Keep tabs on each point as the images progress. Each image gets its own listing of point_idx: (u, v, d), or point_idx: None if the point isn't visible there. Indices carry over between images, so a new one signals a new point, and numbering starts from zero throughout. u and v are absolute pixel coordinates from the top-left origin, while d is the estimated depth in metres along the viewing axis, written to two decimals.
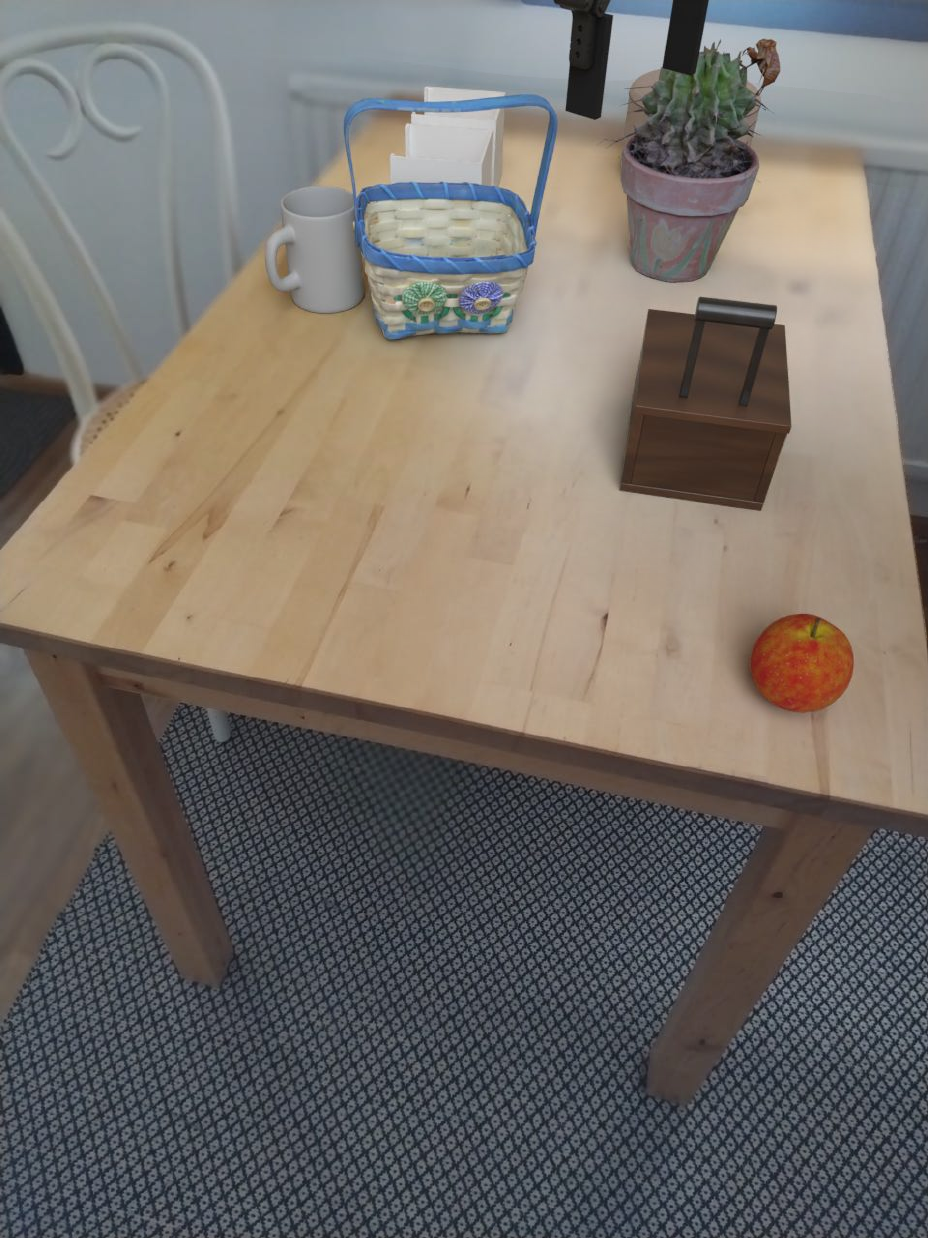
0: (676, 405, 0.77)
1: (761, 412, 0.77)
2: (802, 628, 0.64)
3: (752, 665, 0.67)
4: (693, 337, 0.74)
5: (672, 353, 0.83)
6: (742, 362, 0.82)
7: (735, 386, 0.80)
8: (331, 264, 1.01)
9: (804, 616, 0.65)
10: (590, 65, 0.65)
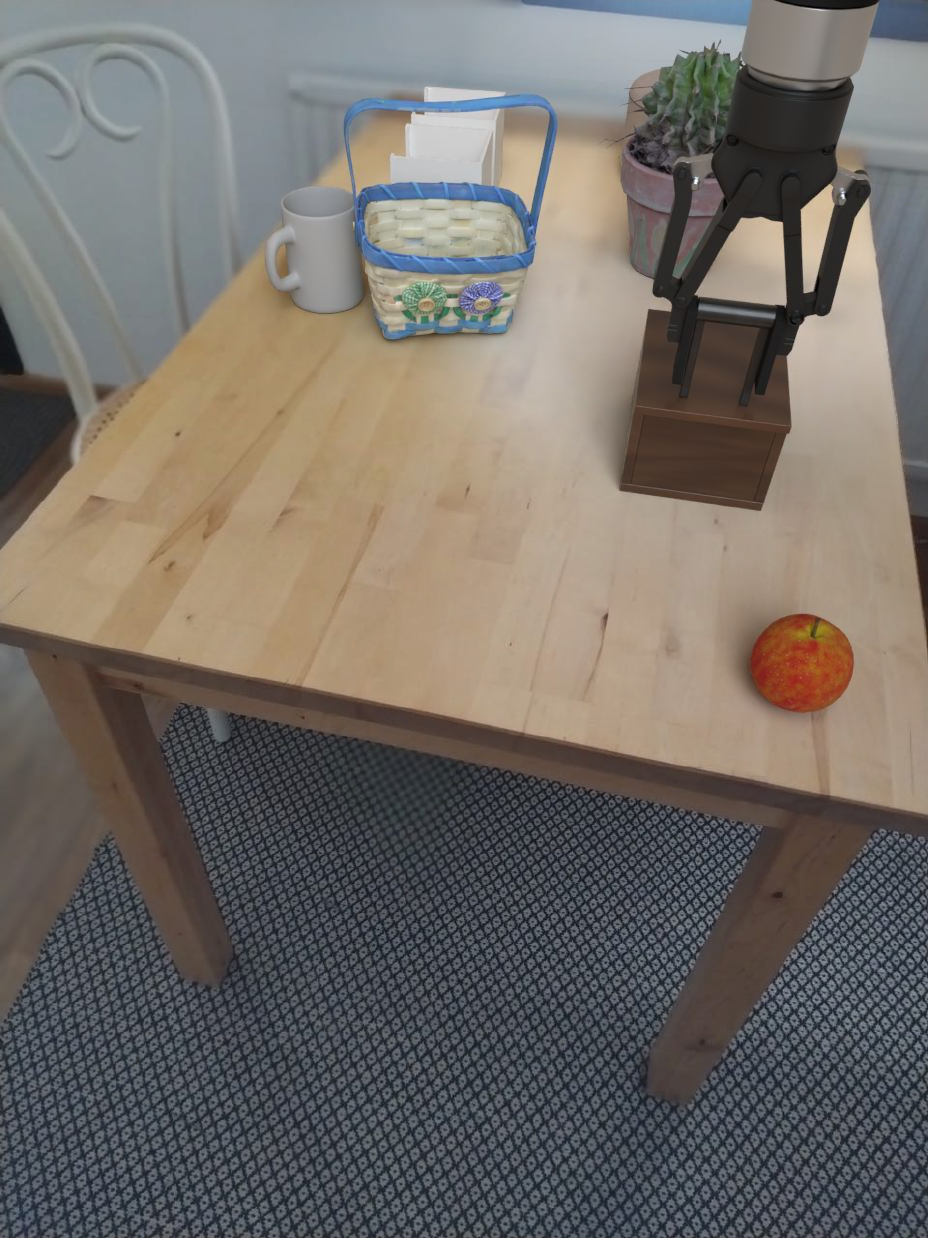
0: (676, 405, 0.77)
1: (761, 412, 0.77)
2: (802, 628, 0.64)
3: (752, 665, 0.67)
4: (693, 337, 0.74)
5: (672, 353, 0.83)
6: (742, 362, 0.82)
7: (735, 386, 0.80)
8: (331, 264, 1.01)
9: (804, 616, 0.65)
10: (674, 340, 0.74)
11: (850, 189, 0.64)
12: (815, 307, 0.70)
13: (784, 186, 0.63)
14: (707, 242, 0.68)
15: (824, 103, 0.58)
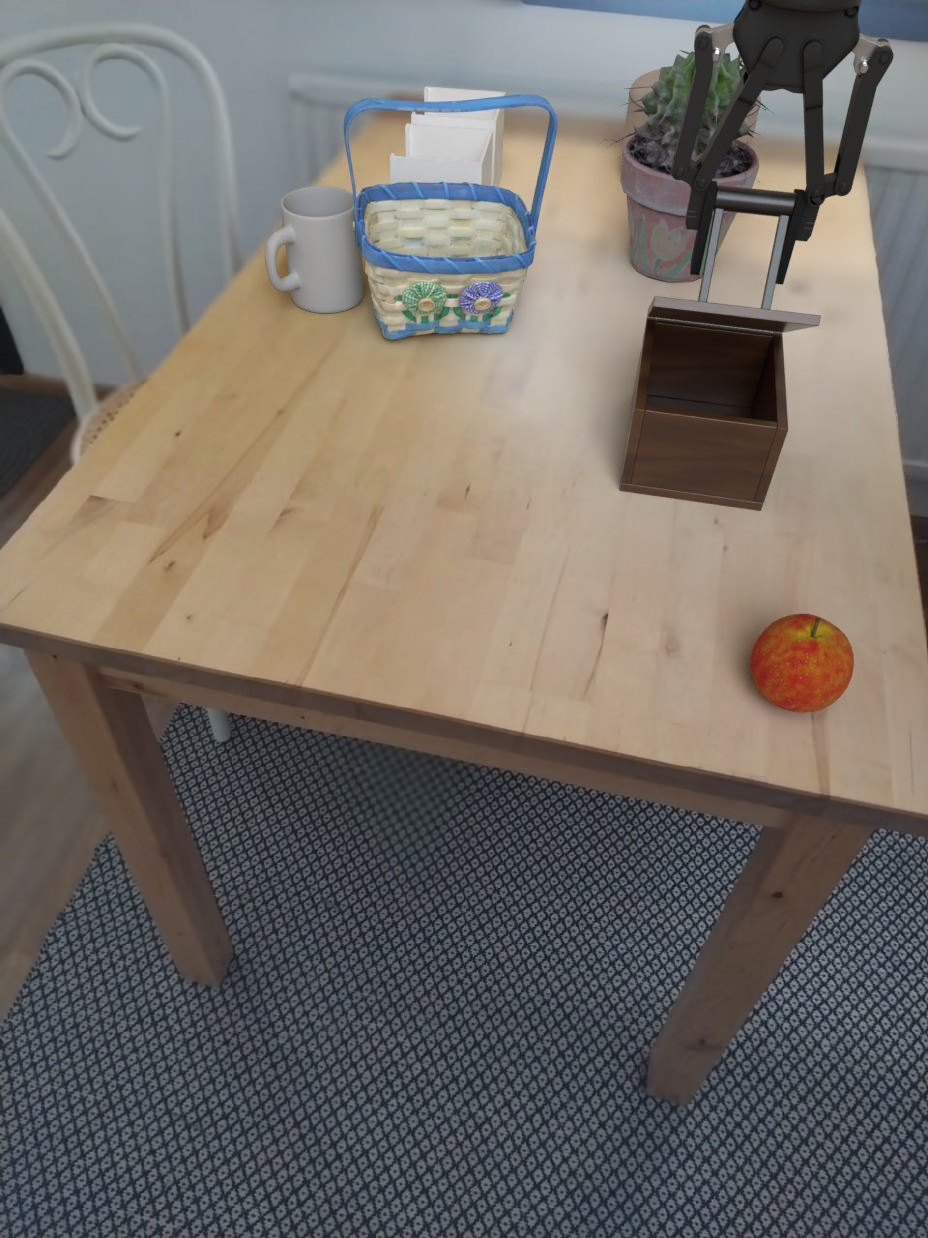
0: None
1: None
2: (802, 628, 0.64)
3: (752, 665, 0.67)
4: (712, 228, 0.73)
5: None
6: None
7: None
8: (331, 264, 1.01)
9: (804, 616, 0.65)
10: (693, 228, 0.74)
11: (872, 57, 0.63)
12: (835, 186, 0.69)
13: (806, 52, 0.63)
14: (727, 118, 0.67)
15: None
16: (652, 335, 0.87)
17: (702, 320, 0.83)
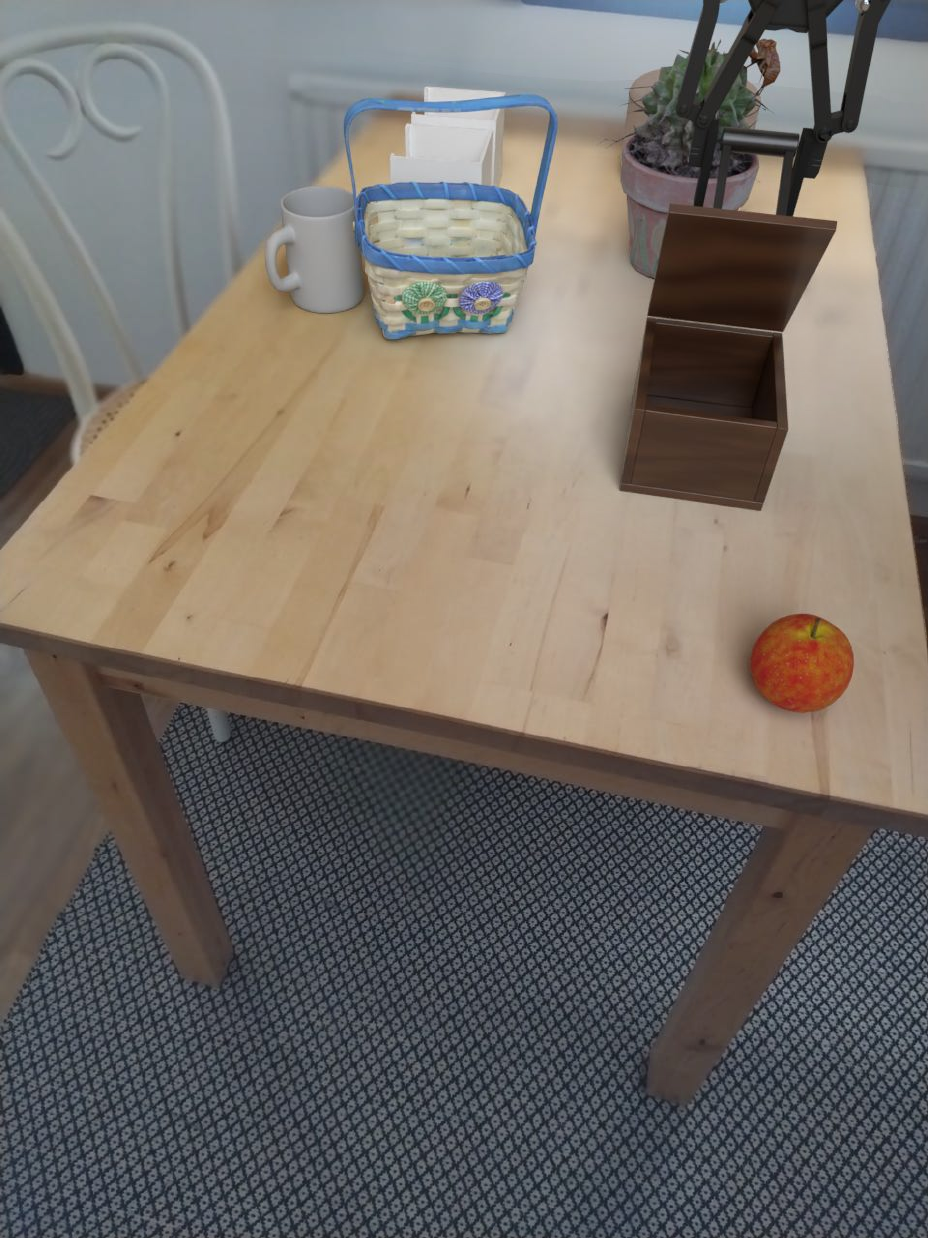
0: None
1: None
2: (802, 628, 0.64)
3: (752, 665, 0.67)
4: (721, 161, 0.75)
5: None
6: None
7: None
8: (331, 264, 1.01)
9: (804, 616, 0.65)
10: (696, 165, 0.77)
11: None
12: (842, 123, 0.73)
13: None
14: (732, 55, 0.71)
15: None
16: (652, 335, 0.87)
17: (706, 294, 0.83)
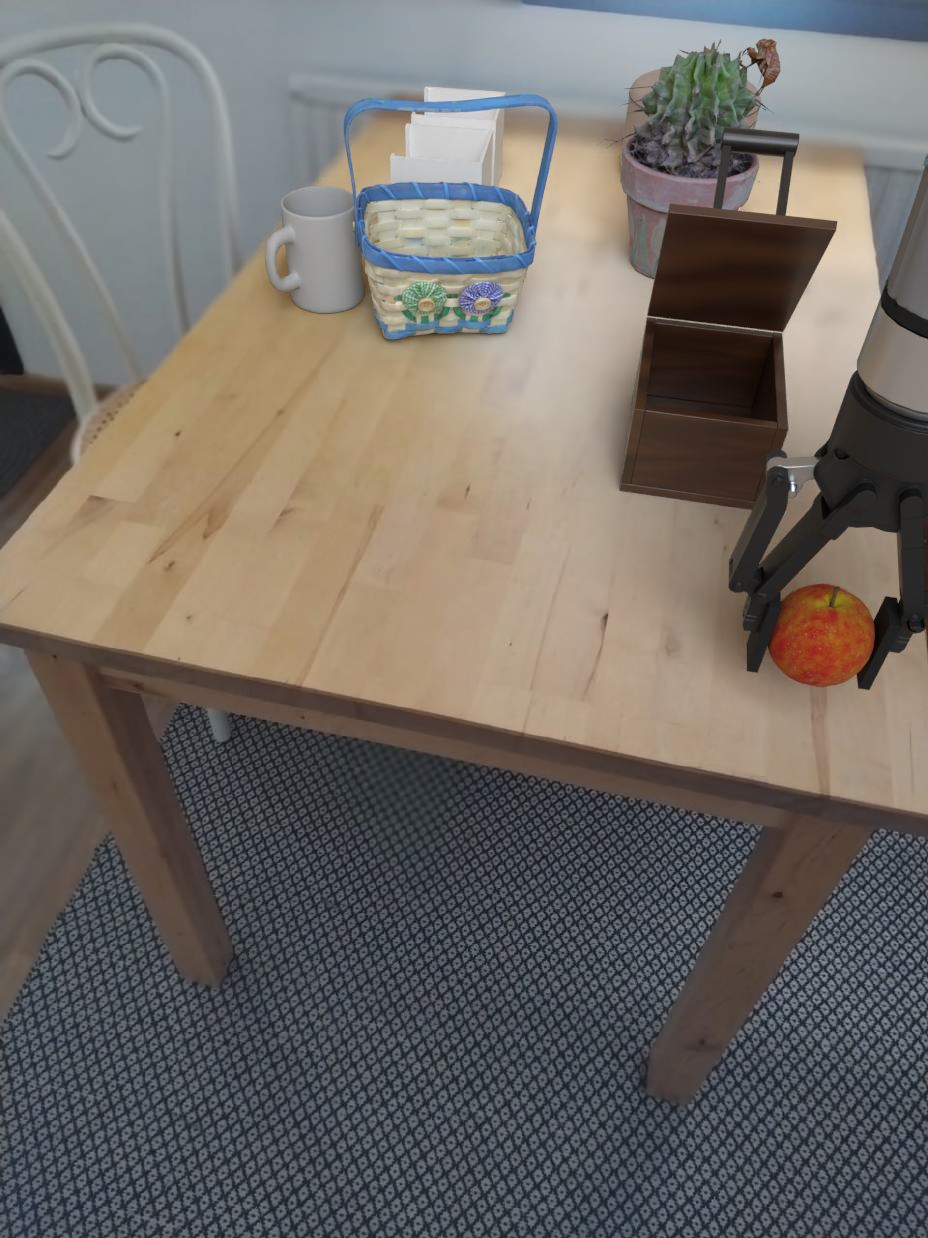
0: None
1: None
2: (820, 598, 0.62)
3: None
4: (721, 161, 0.75)
5: None
6: None
7: None
8: (331, 264, 1.01)
9: (822, 586, 0.63)
10: (751, 630, 0.64)
11: None
12: None
13: (904, 505, 0.53)
14: (801, 546, 0.57)
15: None
16: (652, 335, 0.87)
17: (706, 294, 0.83)
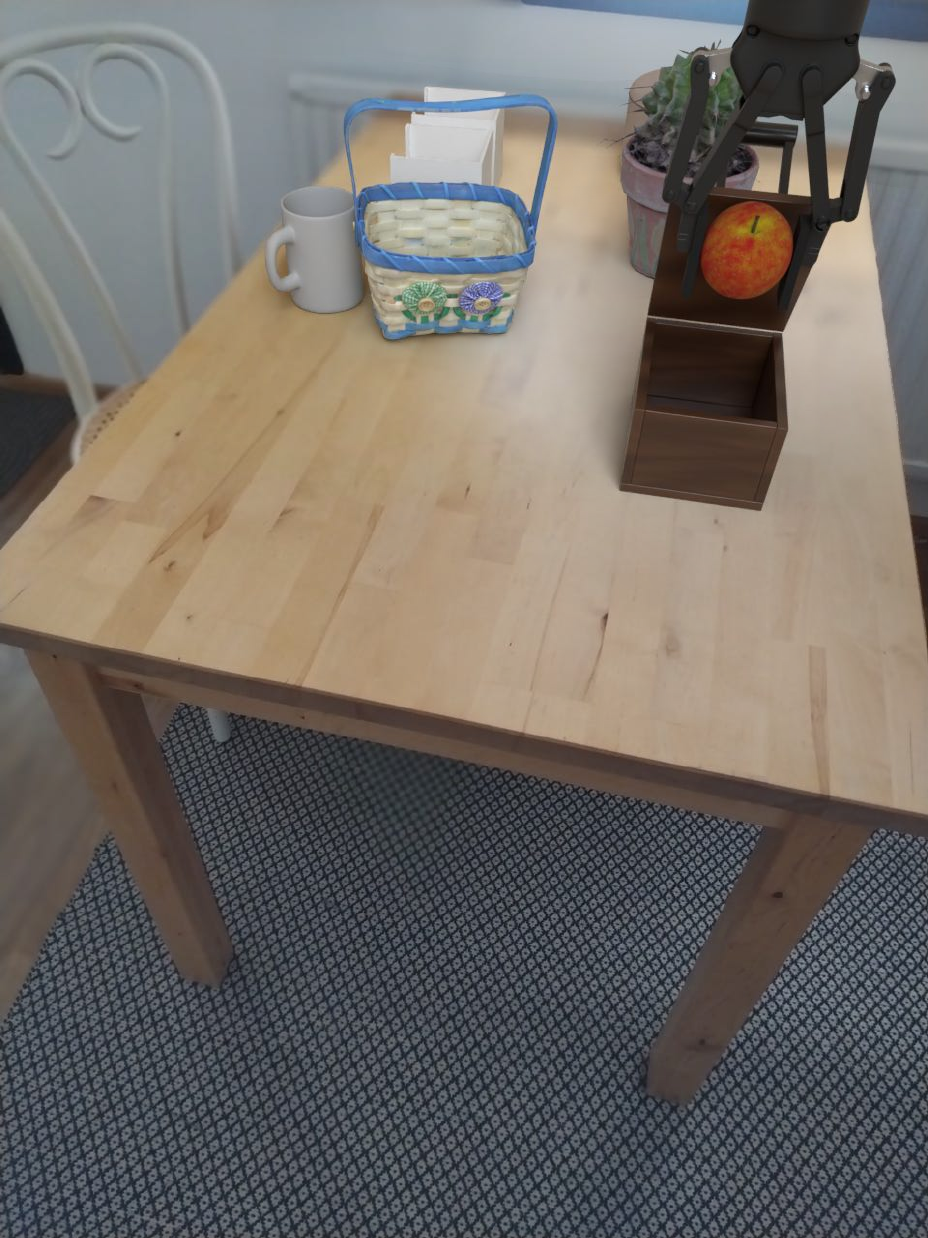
0: None
1: None
2: (743, 223, 0.69)
3: None
4: None
5: None
6: None
7: None
8: (331, 264, 1.01)
9: (750, 208, 0.69)
10: (684, 251, 0.73)
11: (874, 82, 0.62)
12: (842, 212, 0.68)
13: (805, 80, 0.62)
14: (722, 142, 0.66)
15: None
16: (652, 335, 0.87)
17: (707, 288, 0.83)
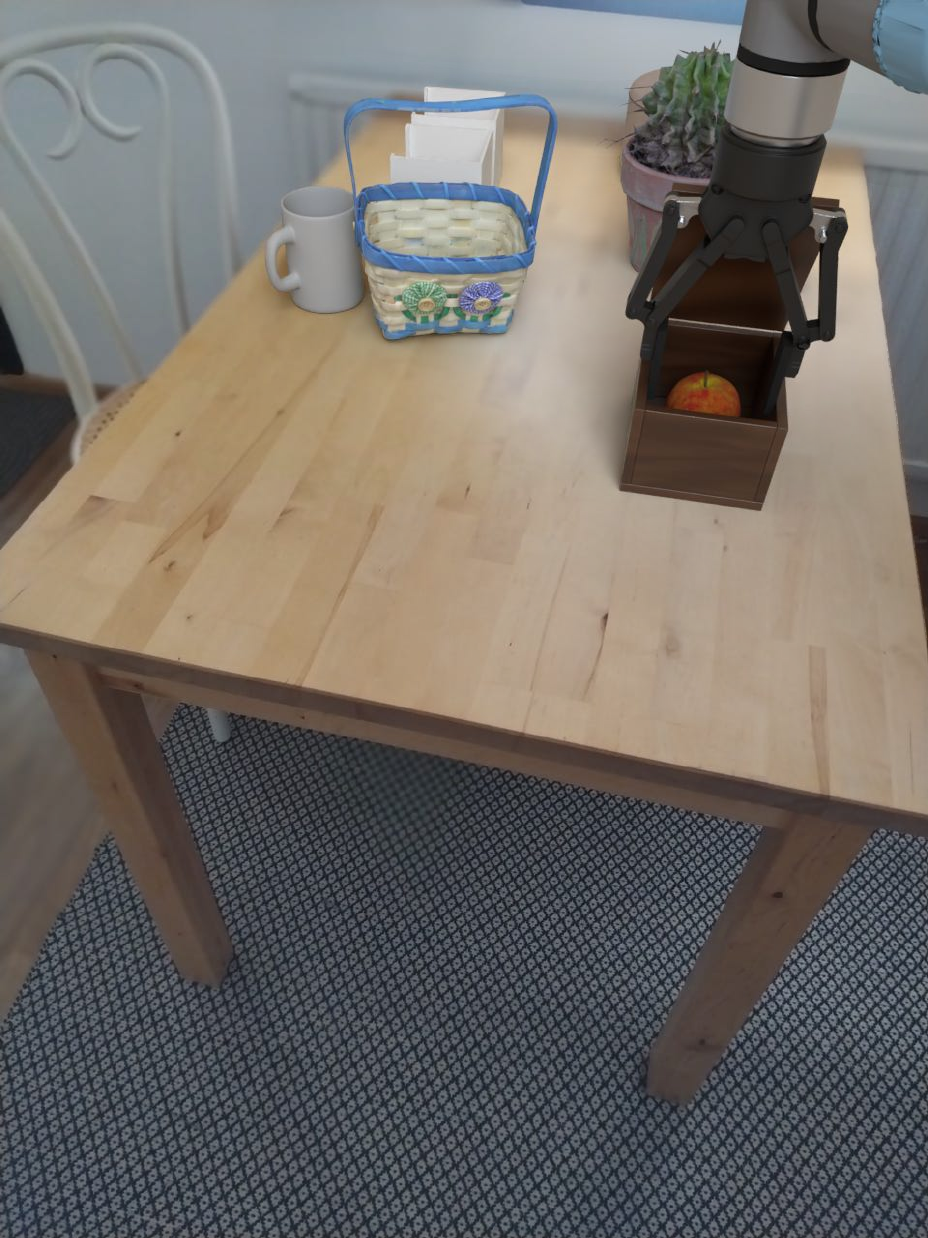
0: None
1: None
2: (696, 381, 0.83)
3: None
4: None
5: None
6: None
7: None
8: (331, 264, 1.01)
9: (699, 373, 0.84)
10: (647, 359, 0.80)
11: (829, 227, 0.69)
12: (820, 334, 0.75)
13: (764, 231, 0.69)
14: (685, 273, 0.73)
15: (799, 158, 0.64)
16: None
17: (707, 288, 0.83)
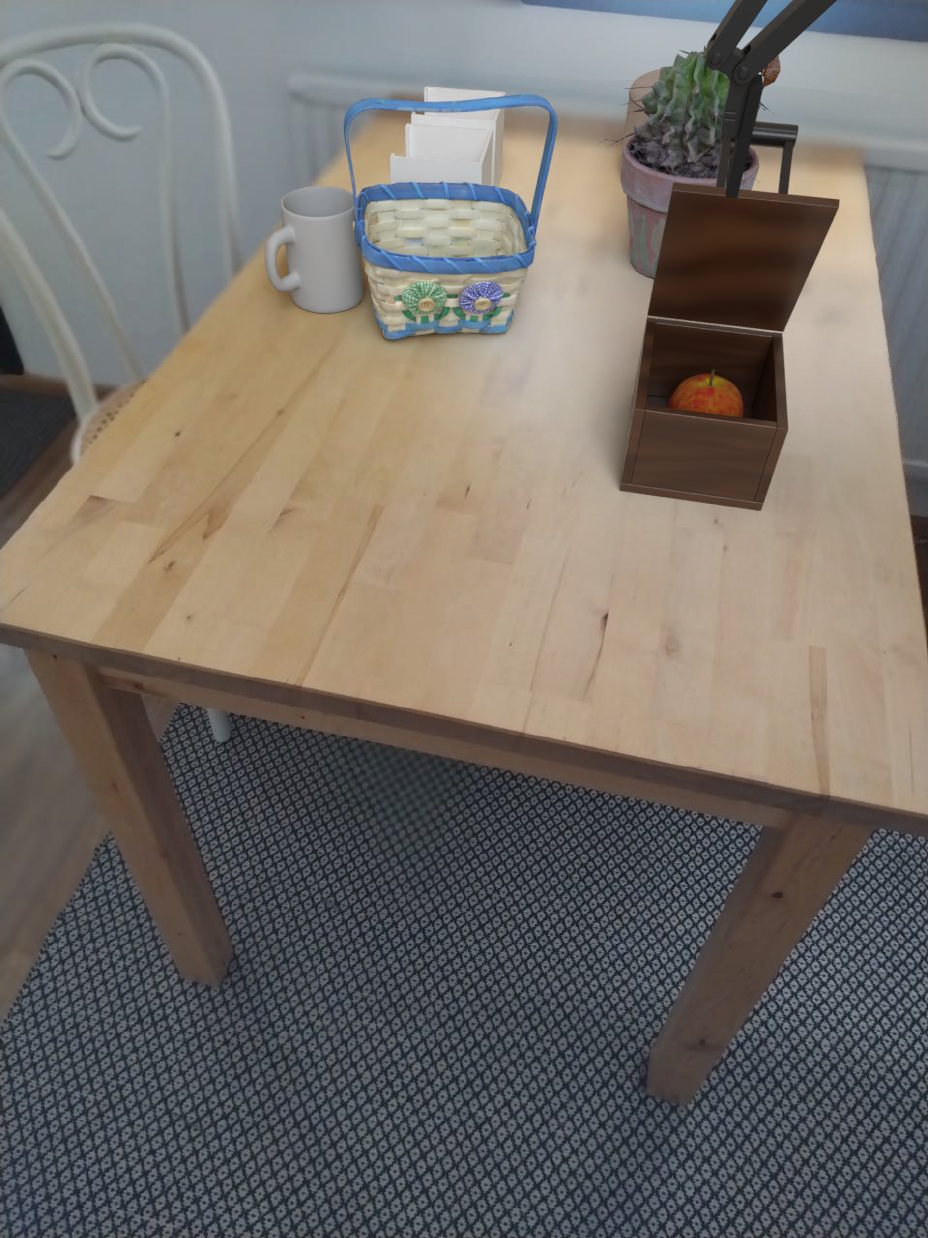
0: None
1: None
2: (702, 380, 0.84)
3: None
4: (722, 150, 0.76)
5: None
6: None
7: None
8: (331, 264, 1.01)
9: None
10: (731, 135, 0.58)
11: None
12: None
13: None
14: None
15: None
16: (652, 335, 0.87)
17: (707, 288, 0.83)
